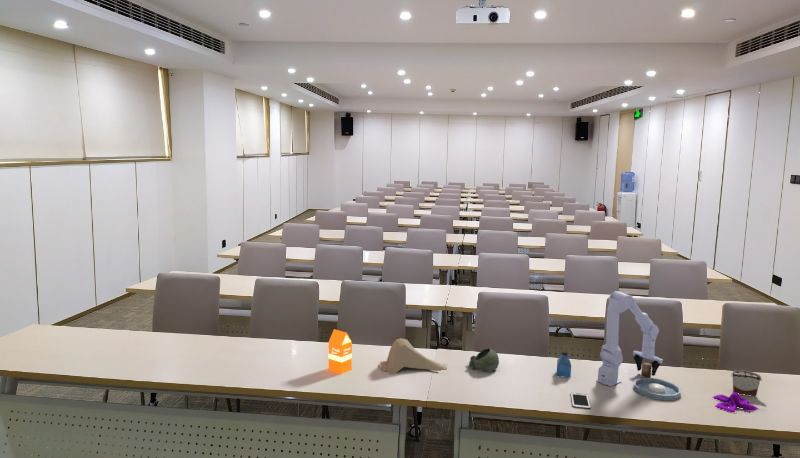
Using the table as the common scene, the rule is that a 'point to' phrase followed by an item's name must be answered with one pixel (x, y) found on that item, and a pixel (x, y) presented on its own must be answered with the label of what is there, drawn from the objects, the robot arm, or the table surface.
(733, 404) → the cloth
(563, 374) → the perfume bottle
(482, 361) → the green round pot
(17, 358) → the table surface
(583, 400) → the cell phone
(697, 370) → the table surface
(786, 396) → the table surface
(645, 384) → the round tray
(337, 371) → the orange juice
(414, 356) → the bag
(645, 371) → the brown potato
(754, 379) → the food container
